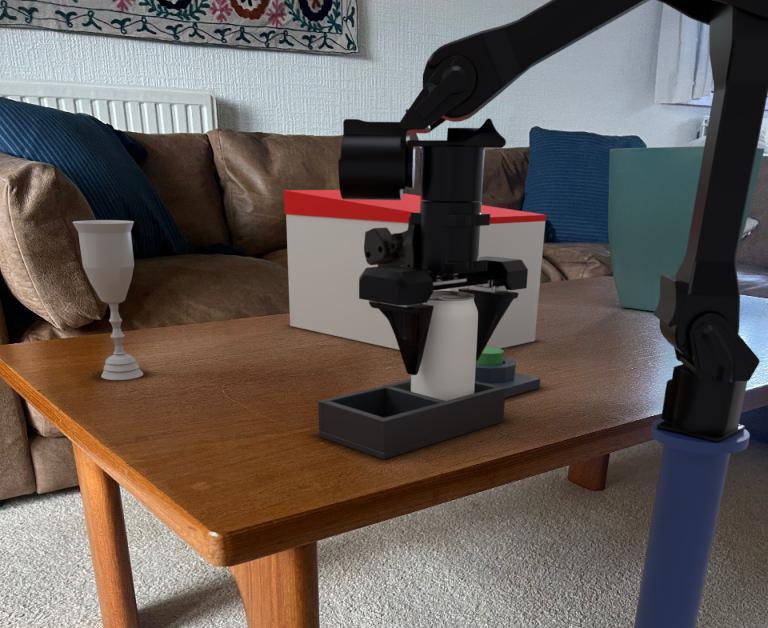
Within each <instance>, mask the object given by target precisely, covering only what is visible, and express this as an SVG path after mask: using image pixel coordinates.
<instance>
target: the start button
mask: <svg viewBox="0 0 768 628" xmlns="http://www.w3.org/2000/svg"><path fill="white" fill-rule="evenodd" d="M504 356H505V353H504V349H503V348H500V349H498V348H490V347H485V349H484V350H483V352H482V354H481V356H480V358H479V360H478V361H476V364H478V365H487V366H493V365H502V364H503V357H504ZM504 358H505V357H504Z"/></svg>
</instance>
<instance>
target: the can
mask: <svg viewBox="0 0 768 628" xmlns="http://www.w3.org/2000/svg"><path fill="white" fill-rule="evenodd" d="M474 297H475V295H474V294H471V293H467V292H460V291H433V294H432V295H431V297H430V298H429V300H428V301H427V303H423V304H425V305H431V306H434V308H433V313H432V317H431V322H430V326H429V330H428V335H427V339H426V344H425V348H424V353H423V357H422V361H421V365H420V368H419V371H418V374H417V375H410V379H411V392H414V393H418V394H422V395H425V396H429V397H433V398H436V399H440V400H444V401H449V400H452V399H456V398H460V397H463V396H467V395H471V394H474V386H475V368H476V348H477V327H478V310H477V308H476V305H475V303H474Z"/></svg>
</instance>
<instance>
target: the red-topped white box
mask: <svg viewBox="0 0 768 628" xmlns="http://www.w3.org/2000/svg"><path fill="white" fill-rule="evenodd" d="M420 197H421V195H418V194H411V193H406V192H405V193H404V192H403V195H402V200H349V199H342V197H341V194H340V189H284V190H283V198H284V199H283V201H284V215H285V216H286V217H285V218H286V244H287V246H286V249H287V271H288V272H287V276H288V303H289V305H288V307H289V326H290V327H294V328H298V329H303V330H308V331H311V332H317V333H321V334H326V335H329V336H335V337H339V338H344V339H348V340H351V341H352V340H353V341H356V342H362V343H366V344H371V345H375V346H380V347H385V348H388V349H389V348H390V349H392V350H393V349H394V350H399V346H398V343H397V340H396V337H395V334H394V332H393V329H392V327H391V325H390V323H389V321H388V319H387V318H386V317H385V315H384V314H383V313H382V312H381V311H380V310H379V309H377V308H372V307H371V306H370V304H369V300H364V299H359V277H360V276H361V274H362V273H363V271H364V270H365V269H366V268H369V267H378V265H369V264H368V263H367V261H366V257H365V253H364V241H365V232H367V231H369V230H371V229H373V228H388V230H389V231H390V233H391V234H394V233H402V232H404V231H407V230H408V219H409V217H410V216H411V212H420V201H423V200H420ZM481 213H484V214H490V225H485V226H480V238H479V255H478V257H485V256H491V257H501V258H511V259H521V260H522V261H523V263H524V264H525V266H526V267H527V269H528V276H527V288H525V289H518V290H508V291H511V292H518V293H519V294H518V298H515V299H513V301H512V302H511V304H510V306H509V307H508V309H507V310H506V312H505V314H504V315H503V317H502V318H501V320H500V322H499V323H498V325H497V327H496V329H495V330H494V332H493V334H492V336H491V338H490V339H489V341H488V343H487V345H486V347H490V348H498V349H504V348H510V347H514V346H518V345H522V344H527V343H532V342H535V341H536V331H537V321H538V308H539V296H540V287H541V276H542V275H541V273H542V265H543V264H542V262H543V252H544V243H545V241H544V240H545V229H546V220H547V214H543V213H537V212H531V211H523V210H517V209H516V210H515V209H510V208H504V207H503V208H502V207H496V206H491V205H484V204H481ZM457 278H458V277H457ZM462 288H468V286H465V287H457V288H450V289H442V290H434V291H458V289H462ZM399 351H400V350H399Z"/></svg>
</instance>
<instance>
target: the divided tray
mask: <svg viewBox="0 0 768 628" xmlns="http://www.w3.org/2000/svg"><path fill="white" fill-rule="evenodd" d="M505 391H506V388H504V387H499V386H495V385H491V384H487V383H482V382H478V381H475V386H474V394H471V395H467V396H463V397H460V398H456V399H452V400H449V401H444V400H440V399H436V398H433V397H429V396H425V395H422V394H418V393H414V392H411V378H410V379H405V380H401V381H397V382H392V383H389V384H388V383H387V384H384V385H380V386H376V387H370V388H367V389H363V390H359V391H355V392H351V393H350V392H349V393H346V394H342V395H338V396H333V397H329V398H325V399H319V400H318V402H317V403H318V404H317V405H318V407H317V408H318V409H317V410H318V437H319V438H322V439H325V440H327V441H331V442H334V443H335V444H339V445H342V446H344V447H348V448H350V449H352V450H355V451H359V452H361V453H363V454H367V455H369V456H373V457H376V458H378V459H381V460H387V459H391V458H393V457H398V456H400V455H403V454H406V453H409V452H412V451H415V450H418V449H422V448H424V447H429V446H431V445H434V444H437V443H440V442H444V441H447V440H450V439H453V438H456V437H459V436H462V435H466V434H468V433H472V432H475V431H478V430H481V429H485V428H487V427H490V426H495V425H497V424H500V423H503V422H504V415H505V402H506V398H505Z"/></svg>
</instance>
